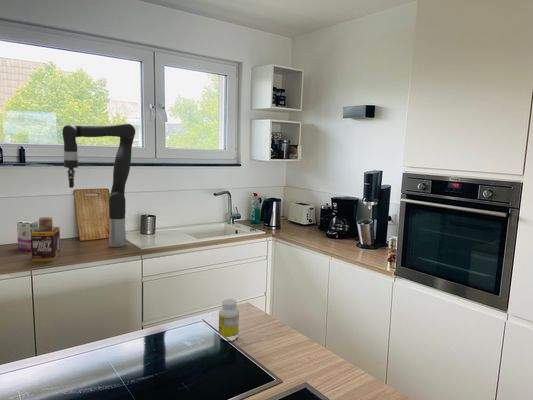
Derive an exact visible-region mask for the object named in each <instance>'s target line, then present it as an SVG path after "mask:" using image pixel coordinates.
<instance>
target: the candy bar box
mask: <svg viewBox="0 0 533 400" xmlns="http://www.w3.org/2000/svg"><path fill="white" fill-rule="evenodd" d="M16 226H17V229H16V230H17V233H16V234H17V249H18V250H23V251H26V252H27V251H28V252H32V246H31V232H33V231H34V230H36V229H37V228H38V227H39V221H34V220H33V221H32V220H26V219H25V220H19V221H18V220H17V221H16Z"/></svg>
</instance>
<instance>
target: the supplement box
mask: <svg viewBox="0 0 533 400" xmlns="http://www.w3.org/2000/svg"><path fill="white" fill-rule="evenodd" d="M60 231H61V227H60V226H53V228H52V230H44V231H39V226H38V228H37V229H36V230H34V231H33V232H31V246H32V251H31V262H32V263H33V261H35V262H54V261H55V260H56V259H57V257H59V255H60V254H61V241H60V240H61V237H60V236H61V235H60Z"/></svg>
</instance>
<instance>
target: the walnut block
mask: <svg viewBox="0 0 533 400" xmlns="http://www.w3.org/2000/svg"><path fill="white" fill-rule="evenodd" d="M38 227H39V231H44V230H52V228H53V227H54V226H53V217H52V216H49V217H47V216H44V217H39V218H38Z"/></svg>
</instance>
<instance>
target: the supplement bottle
mask: <svg viewBox="0 0 533 400" xmlns="http://www.w3.org/2000/svg"><path fill="white" fill-rule="evenodd" d="M221 304H222V305H221V306H222V307H221V308H220V309H219V312H218V335H219V334H220V335H222V336H225V337H231V336H235V335H237V334H238V335H239V325H240V324H239V322H240V321H239V320H240V311H239V308H238V307H237V301H236V299H233V298H232V299H231V298H228V299H227V298H226V299H224V300H222V303H221Z"/></svg>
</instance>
